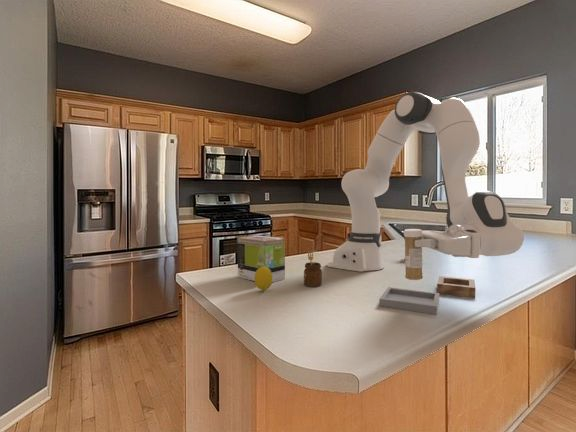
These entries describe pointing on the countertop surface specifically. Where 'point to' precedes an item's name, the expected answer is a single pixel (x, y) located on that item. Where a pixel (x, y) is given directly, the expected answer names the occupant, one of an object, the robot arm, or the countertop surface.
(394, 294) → the tray
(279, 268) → the tea box
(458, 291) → the square wooden box
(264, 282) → the lemon
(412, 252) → the sprinkles bottle
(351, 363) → the countertop surface
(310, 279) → the utensil holder
